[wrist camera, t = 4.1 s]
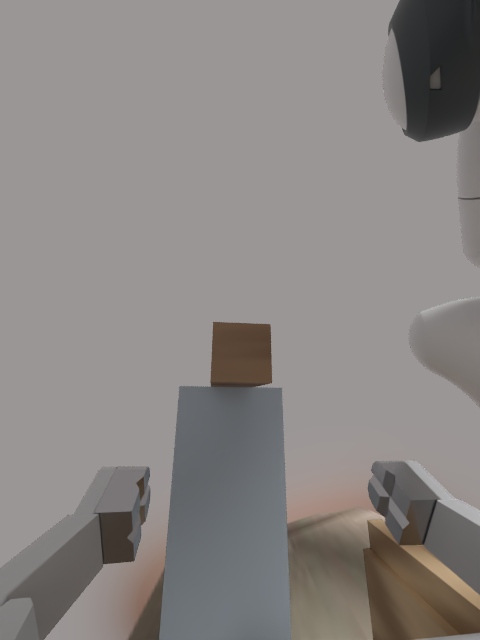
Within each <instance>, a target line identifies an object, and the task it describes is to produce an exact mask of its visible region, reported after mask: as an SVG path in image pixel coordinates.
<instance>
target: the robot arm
mask: <svg viewBox="0 0 480 640" xmlns="http://www.w3.org/2000/svg"><path fill="white" fill-rule="evenodd" d="M388 32H389V33H388V36H389V38H388V41H387V46H386V50H385V56H384V64H383V90H384V96H385V100H386V103H387V106H388V109H389V111H390V113H391V115H392V116H393V118H394V119H395V121H396V122H397V123H398V124H399V125H400V126H401V127H402V130H403V132H404V134H405V135H406V136H408V137H410V138H412V139H414V140H416V141H418V142H421V141H428V140H433V139H437V138H441V137H444V136H448V135H451V134H454V133H458V132H459V139H458V152H457V187H458V201H459V211H460V223H461V233H462V244H463V251H464V254H465V256H466V257H467V259H468V260H469V261H470V262H471V263H473V264H474V265H476V266H477V267H479V268H480V0H400V1H399V3H398V5H397V8H396V10H395V12H394V14H393V17H392V19H391V21H390V24H389V30H388ZM409 344H410V348H411V350H412V352H413V354H414V356H415V357H416V359H417V360H418V361H419V362H420V363H421V364H422V365H423V366H424V367H426V368H427V369H429V370H430V371H432V372H433V373H435V374H437V375H439V376H441V377H443V378H445V379H447V380H448V381H450V382H451V383H453V384H454V385H456V386H457V387H458V388H460V389H461V390H462V391H463V392H465V393H466V394H467V395H468V396H469V397H470V398H471V399H472V400H473V401H474V402H475V403H476V405H477V406H478V407H479V408H480V297H474V298H468V299H461V300H455V301H452V302H449V303H445V304H442V305H439V306H436V307H433V308H430V309H427V310H424V311H421V312H419V314H418V315H417V316H416V317H415V318H414V320H413V322H412V324H411V326H410V330H409ZM371 471H372V473H373V474H374V476H373V477H372V478H371V479H370V480H369V484H368V492H369V497H370V500H371V502H372V504H373V506H374V508H375V509H376V511H377V512H379V513H380V514H381V515H383V516H384V517H385V525H386V526H387V528H388V529H389V531H390V533H391V534H392V536H393V537H394V539H395V540H396V542H397V543H398V545H424V547H425V548H426V549H427V550H428V551H429V552H430V553H432V554H433V555H434V556H435V557H436V558H437V559H439V560H440V561H441V562H442V563H443V564H444V565H445V566H447V567H448V568H449V569H450V570H451V571H452V572H454V573H455V574H456V575H457V576H458V577H459V578H460V579H462V580H463V581H464V582H465V583H466V584H467V585H469V586H470V587H471V588H472V589H473V590H474V591H475V592H477V593H478V594H479V595H480V510H478V509H476V508H474V507H472V506H470V505H469V504H467V503H465V502H464V501H462V500H460V499H455V498H453V496H452V495H451V494H450V493H449V492H447V490H445V488H444V487H443V486H442V485H441V484H440V483H439V482H437V481H436V480H435V479H434V478H433V477H432V476H431V475H430V474H429V473H428V472H427V471H426V470H425V469H424V468H423V467H422V466H421V465H420V464H419V463H418V462H416V461H414V460H404V461H403V460H402V461H376V462H374V463H373V465H372V469H371ZM149 477H150V470H149V467H102V468H101V469H100V470H99V471H98V473H97V474H96V476H95V478H94V479H93V481H92V483H91V485H90V486H89V488H88V490H87V492H86V494H85V495H84V497H83V499H82V500H81V502H80V504H79V506H78V508H77V509H76V511H75V513H74V514H73V515H67V516H66V517H65V518H64V519H62V520H61V521H60V522H59V523H57V524H56V525H55V526H53V527H52V528H51V529H50V530H48V531H47V532H46V533H44V534H43V535H42V536H41V537H39V538H38V539H37V540H36V541H34V542H33V543H32V544H31V545H29V546H28V547H27V548H25V549H24V550H23V551H22V552H20V553H19V554H18V555H17V556H15V557H14V558H13V559H11V560H10V561H9V562H8V563H6V564H5V565H4V566H3V567H1V568H0V640H44V639H45V638H46V636H47V635H48V634H49V633H50V631H51V630H52V629H53V628H54V626H55V625H56V624H57V623H58V622H59V620H60V619H61V618H62V617H63V615H64V614H65V613H66V612H67V610H68V609H69V608H70V607H71V605H72V604H73V603H74V602H75V601H76V599H77V598H78V597H79V596H80V594H81V593H82V592H83V591H84V589H85V588H86V587H87V585H89V583H90V582H91V581H92V580H93V578H94V577H95V576H96V574H97V573H98V572H99V571H100V570H101V569H102V567H103V564H108V563H109V564H110V563H121V562H131V561H134V560H135V556H136V553H137V549H138V546H139V542H140V539H141V525H142V524H143V523H144V522H145V521H146V517H147V513H148V508H149V502H150V486H149V485H148V480H149ZM414 640H480V633H474V634H464V635H454V636H444V637H434V638H424V639H414Z"/></svg>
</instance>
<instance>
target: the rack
mask: <svg viewBox="0 0 480 640" xmlns="http://www.w3.org/2000/svg"><path fill="white" fill-rule="evenodd" d="M367 522H368V530H369V539H370V547H371V548H366V549H363V551H364V560H365V569H366V578H367V587H368V596H369V605H370V614H371V623H372V632H373V640H414V639H424V638H434V637H444V636H454V635H464V634H474V633H480V595H479V594H478V593H477V592H475V591H474V590H473V589H472V588H471V587H470V586H469V585H467V584H466V583H465V582H464V581H463V580H462V579H460V578H459V577H458V576H457V575H456V574H455V573H454V572H452V571H451V570H450V569H449V568H448V567H447V566H445V565H444V564H443V563H442V562H441V561H440V560H439V559H437V558H436V557H435V556H434V555H433V554H432V553H430V552H429V551H428V550H427V549H426V548H425V547H424V545H423V546H417V545H398V543H397V542H396V540H395V539H394V537H393V536H392V534H391V533H390V531H389V529H388V528H387V526H386V525H385V522H384V521H383V520H382V519H381V520H367Z"/></svg>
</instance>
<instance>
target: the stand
mask: <svg viewBox="0 0 480 640" xmlns="http://www.w3.org/2000/svg"><path fill="white" fill-rule="evenodd" d="M284 461H285V459H284V432H283V406H282V388H257V387H193V386H191V387H190V386H180V387H179V400H178V413H177V424H176V436H175V448H174V462H173V473H172V485H171V498H170V511H169V523H168V535H167V547H166V560H165V572H164V584H163V596H162V609H161V621H160V633H159V640H291V615H290V589H289V563H288V537H287V511H286V486H285V462H284Z"/></svg>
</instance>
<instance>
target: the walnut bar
mask: <svg viewBox="0 0 480 640" xmlns="http://www.w3.org/2000/svg"><path fill="white" fill-rule="evenodd" d="M270 329H271V327H270V324H247V323H222V322H213V341H212V362H211V387H256V386H261V385H265V384H270V383H272V365H271V332H270V331H271V330H270Z"/></svg>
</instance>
